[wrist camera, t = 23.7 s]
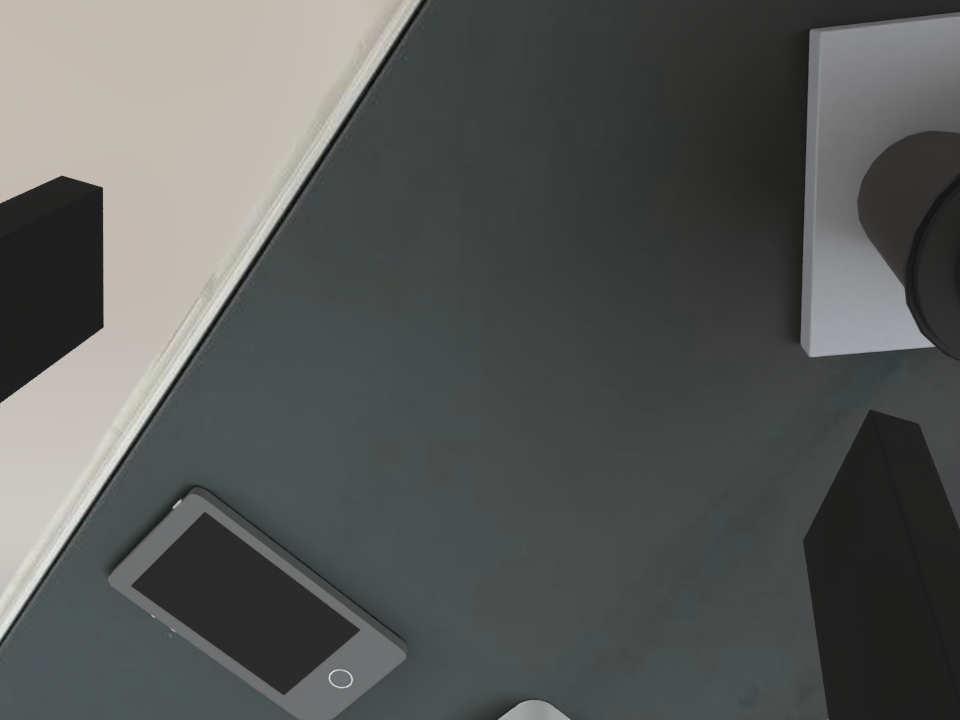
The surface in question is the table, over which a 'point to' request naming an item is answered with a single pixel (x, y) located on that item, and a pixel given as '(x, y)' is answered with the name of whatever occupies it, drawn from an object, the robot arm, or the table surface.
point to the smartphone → (257, 609)
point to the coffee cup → (920, 228)
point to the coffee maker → (866, 169)
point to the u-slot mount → (534, 712)
